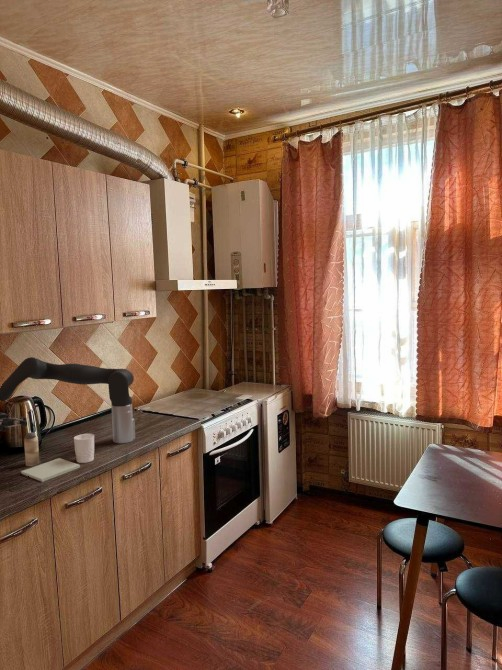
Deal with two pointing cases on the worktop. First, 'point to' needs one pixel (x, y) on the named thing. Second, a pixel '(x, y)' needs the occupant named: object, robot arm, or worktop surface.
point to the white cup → (84, 448)
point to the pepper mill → (31, 449)
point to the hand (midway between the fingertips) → (16, 426)
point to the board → (50, 469)
